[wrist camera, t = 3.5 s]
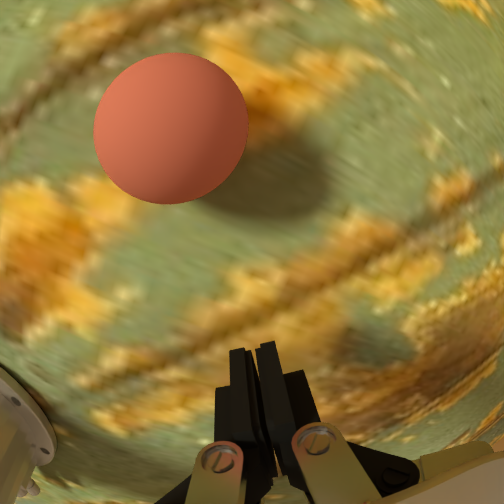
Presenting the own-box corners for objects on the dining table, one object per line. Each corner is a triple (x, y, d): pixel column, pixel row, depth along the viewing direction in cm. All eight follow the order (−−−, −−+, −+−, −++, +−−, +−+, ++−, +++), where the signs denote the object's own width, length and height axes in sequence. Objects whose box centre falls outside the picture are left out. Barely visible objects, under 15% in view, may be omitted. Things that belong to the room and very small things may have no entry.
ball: (242, 192, 14) (259, 213, 9) (122, 198, 14) (72, 223, 8) (241, 73, 13) (257, 25, 7) (120, 81, 12) (72, 44, 7)
